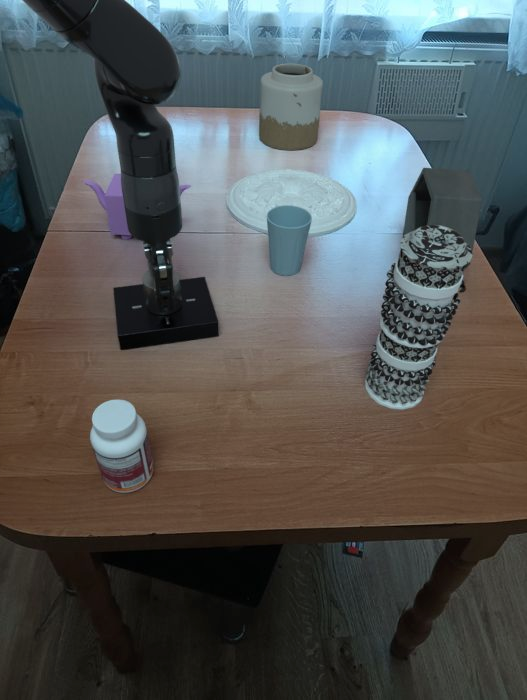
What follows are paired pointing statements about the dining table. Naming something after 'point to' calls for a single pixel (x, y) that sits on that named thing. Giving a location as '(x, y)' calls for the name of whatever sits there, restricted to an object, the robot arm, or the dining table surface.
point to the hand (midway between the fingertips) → (163, 297)
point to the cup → (287, 238)
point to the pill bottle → (121, 446)
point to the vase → (290, 107)
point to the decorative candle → (416, 314)
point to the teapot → (116, 204)
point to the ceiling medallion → (291, 199)
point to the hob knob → (152, 298)
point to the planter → (444, 203)
